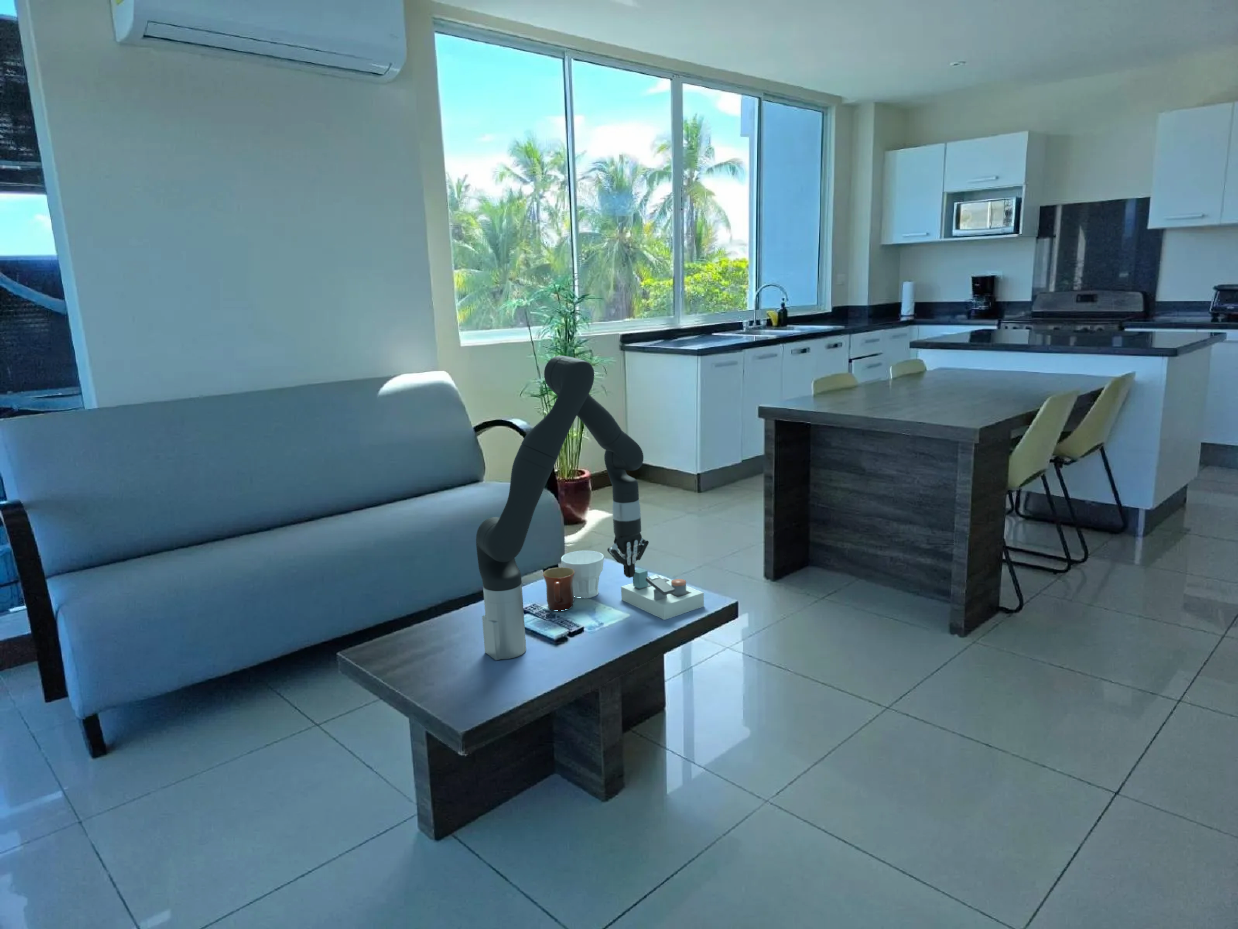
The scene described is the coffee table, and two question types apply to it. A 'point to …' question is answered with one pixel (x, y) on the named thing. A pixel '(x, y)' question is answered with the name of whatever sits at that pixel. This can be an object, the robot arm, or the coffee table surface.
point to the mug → (559, 588)
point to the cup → (584, 571)
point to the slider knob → (640, 578)
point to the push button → (679, 587)
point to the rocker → (660, 584)
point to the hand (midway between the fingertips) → (629, 576)
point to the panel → (662, 600)
